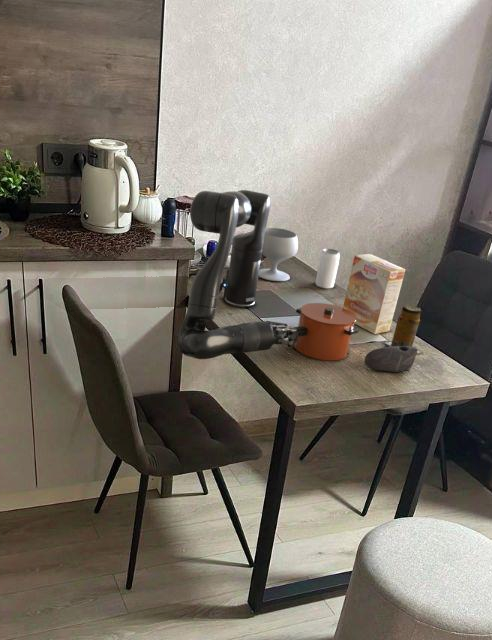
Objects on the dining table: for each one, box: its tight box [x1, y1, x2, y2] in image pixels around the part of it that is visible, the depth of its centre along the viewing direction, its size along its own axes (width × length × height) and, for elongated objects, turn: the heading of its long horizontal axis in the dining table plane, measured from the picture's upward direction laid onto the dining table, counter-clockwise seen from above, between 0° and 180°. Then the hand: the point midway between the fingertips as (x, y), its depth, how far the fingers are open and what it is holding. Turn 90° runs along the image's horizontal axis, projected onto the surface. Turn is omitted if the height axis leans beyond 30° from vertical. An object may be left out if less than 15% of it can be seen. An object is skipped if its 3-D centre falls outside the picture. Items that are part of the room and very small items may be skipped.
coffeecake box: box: [342, 253, 406, 335], centre depth 220 cm, size 15×7×20 cm, turn 36°
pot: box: [294, 302, 360, 361], centre depth 201 cm, size 19×15×12 cm
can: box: [314, 248, 341, 290], centre depth 248 cm, size 6×6×12 cm
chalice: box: [258, 227, 299, 282], centre depth 249 cm, size 14×14×15 cm
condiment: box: [384, 304, 422, 354], centre depth 209 cm, size 7×8×12 cm
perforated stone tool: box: [364, 346, 418, 373], centre depth 195 cm, size 15×5×7 cm, turn 98°
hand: (305, 330), depth 197 cm, fingers closed
